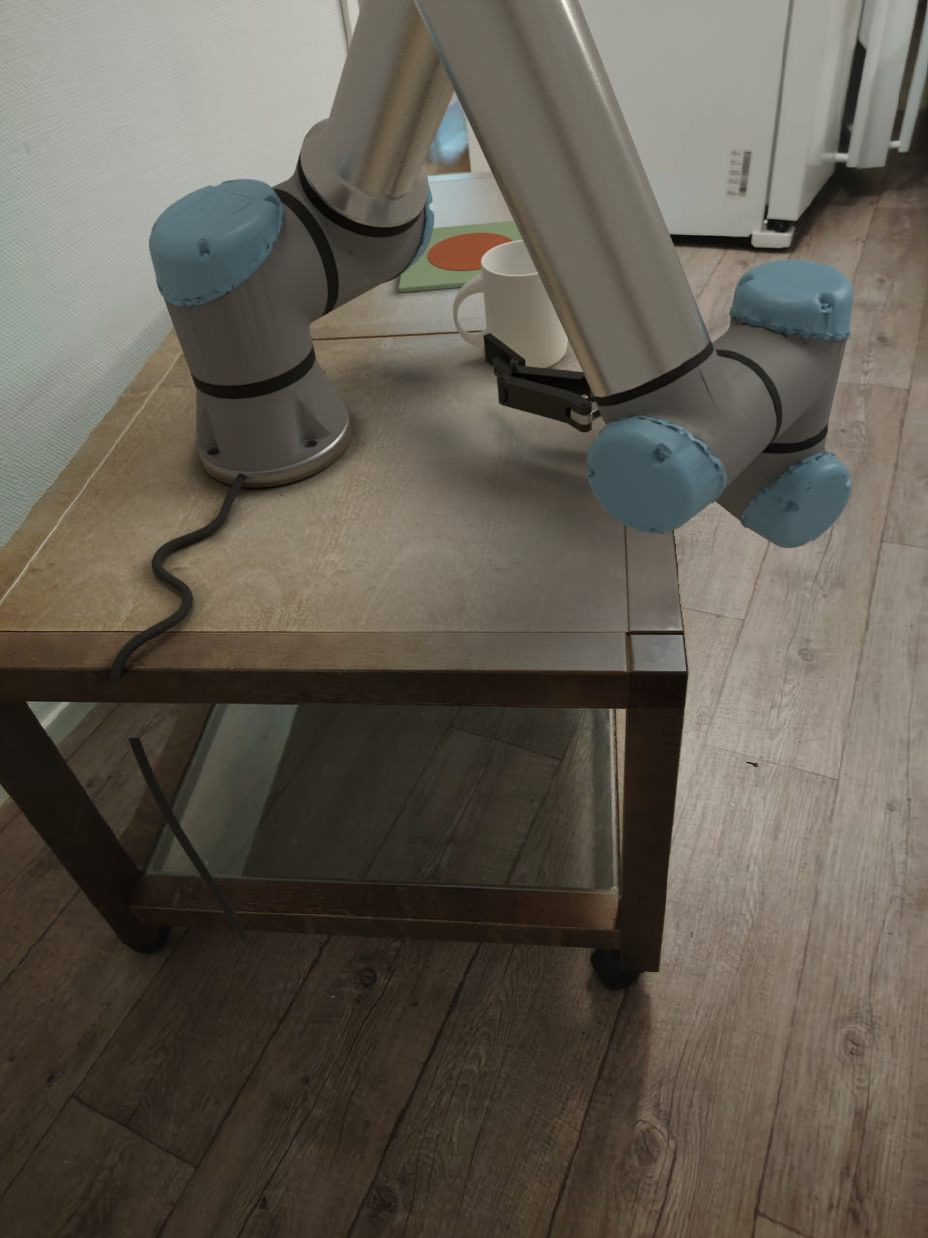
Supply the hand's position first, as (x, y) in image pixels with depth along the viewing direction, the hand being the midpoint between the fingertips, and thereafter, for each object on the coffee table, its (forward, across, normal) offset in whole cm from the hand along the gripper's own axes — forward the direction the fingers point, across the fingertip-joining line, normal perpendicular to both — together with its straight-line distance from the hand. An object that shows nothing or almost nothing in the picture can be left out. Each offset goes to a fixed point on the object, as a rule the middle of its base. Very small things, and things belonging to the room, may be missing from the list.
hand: (547, 325), depth 88 cm
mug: (+7, 0, -7) cm, 10 cm away
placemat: (+33, +9, -6) cm, 35 cm away
